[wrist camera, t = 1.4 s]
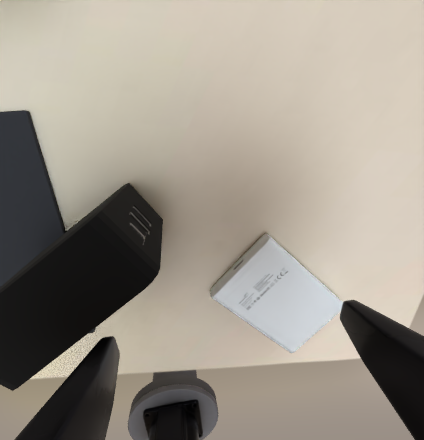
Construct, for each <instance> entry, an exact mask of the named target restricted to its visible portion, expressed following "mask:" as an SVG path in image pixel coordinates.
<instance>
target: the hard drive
mask: <svg viewBox="0 0 424 440" xmlns="http://www.w3.org/2000/svg"><path fill="white" fill-rule="evenodd" d="M210 294H211V297H212V298H213V299H214V300H216V301H217V302H219V303H220V304H221V305H223V306H224V307H226V308H227V309H228V310H230V311H231V312H233V313H234V314H236V315H237V316H238V317H240V318H241V319H243V320H244V321H246V322H247V323H248V324H250V325H251V326H253V327H254V328H256V329H257V330H258V331H260V332H261V333H263V334H264V335H266V336H267V337H268V338H270V339H271V340H273V341H274V342H276V343H277V344H279V345H280V346H282V347H283V348H284V349H286V350H287V351H289V352H290V353H293V352H295V351H296V350H297V349H299V348H300V347H301V346H302V345H303V344H304V343H305V342H306V341H308V340H309V339H310V338H311V337H312V336H313V335H314V334H315V333H317V332H318V331H319V330H320V329H321V328H322V327H323V326H325V325H326V324H327V323H328V322H329V321H330V320H331V319H332V318H333V317H335V316H336V315H337V314H338V313H339V312H340V311H341V309H342V304H343V302H342V301H341V300H340V299H339V298H338V297H337V296H336V295H335V294H334V293H332V292H331V291H330V290H329V289H328V288H327V287H326V286H325V285H324V284H322V283H321V282H320V281H319V280H318V279H317V278H316V277H315V276H314V275H312V274H311V273H310V272H309V271H308V270H307V269H306V268H305V267H304V266H303V265H301V264H300V263H299V262H298V261H297V260H296V259H295V258H294V257H293V256H291V255H290V254H289V253H288V252H287V251H286V250H285V249H284V248H282V247H281V246H280V245H279V244H278V243H277V242H276V241H275V240H274V239H273V238H272V237H271V236H269V235H268V234H267V233H266V234H264V235H263V236H262V237H261V238H259V239H258V240H257V242H256V243H255V244H254V245H253V246H252V247H251V248H250V249H249V250H248V251H247V252H246V253H245V254H244V255H243V256H242V257H241V258H240V259H239V260H238V261H237V262H236V263H235V264H234V265H233V266H232V267H231V268H230V269H229V270H228V271H227V272H226V273H225V274H224V275H223V276H222V277H221V278H220V279H219V280H218V281H217V283H216V284H215V285H214V286H213V287H212V288H211V290H210Z"/></svg>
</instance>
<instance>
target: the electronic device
mask: <svg viewBox="0 0 424 440" xmlns="http://www.w3.org/2000/svg"><path fill="white" fill-rule="evenodd" d="M162 224H163V219H162V218H161V217H160V216H159V215H158V214H157V213H156V212H155V211H154V210H153V209H152V207H151V206H150V205H149V204H148V203H147V202H146V201H145V200H144V199H143V198H142V197H141V195H140V194H139V193H138V192H137V191H136V190H135V189H134V188H133V187H132V186H131V185H130V183H128V184H125V185H124V186H122V187H121V188H120V189H119V190H117V191H116V192H115V193H114V194H112V195H111V196H110V197H109V198H108V199H106V200H105V201H104V202H103V203H101V204H100V205H99V206H98V207H96V208H95V209H94V210H93V211H91V212H90V213H89V214H88V215H87V216H85V217H84V218H83V219H82V220H80V221H79V222H78V223H77V224H75V225H74V226H73V227H72V228H70V229H69V230H68V231H67V232H66V233H64V234H63V235H62V236H61V237H59V238H58V239H57V240H56V241H54V242H53V243H52V244H51V245H49V246H48V247H47V248H46V249H45V250H43V251H42V252H41V253H40V254H38V255H37V256H36V257H35V258H34V259H33V260H31V261H30V262H29V263H28V264H27V265H26V266H24V267H23V268H22V269H21V270H20V271H18V272H17V273H16V274H15V275H14V276H13V277H11V278H10V279H9V280H8V281H7V282H6V283H4V284H3V285H2V286H1V287H0V385H2V386H5V387H6V388H8V389H10V390H15V389H16V388H18V387H19V386H21V385H22V384H23V383H25V382H26V381H27V380H29V379H30V378H31V377H32V376H34V375H35V374H36V373H38V372H39V371H40V370H41V369H43V368H44V367H45V366H47V365H48V364H49V363H50V362H52V361H53V360H54V359H56V358H57V357H58V356H59V355H61V354H62V353H63V352H65V351H66V350H67V349H68V348H70V347H71V346H72V345H74V344H75V343H76V342H77V341H79V340H80V339H81V338H83V337H84V336H85V335H86V334H88V333H89V332H90V331H92V330H93V329H94V328H95V327H97V326H98V325H99V324H100V323H102V322H103V321H104V320H106V319H107V318H108V317H109V316H111V315H112V314H113V313H115V312H116V311H117V310H118V309H120V308H121V307H122V306H124V305H125V304H126V303H127V302H129V301H130V300H131V299H133V298H134V297H135V296H136V295H138V294H139V293H140V292H142V291H143V290H144V289H145V288H146V287H147V286H148V285H149V284H151V283H152V281H153V280H154V279H155V277H156V276H157V275H158V272H159V270H160V262H161V243H162Z"/></svg>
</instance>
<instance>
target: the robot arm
mask: <svg viewBox="0 0 424 440" xmlns="http://www.w3.org/2000/svg"><path fill="white" fill-rule="evenodd" d="M340 319H341V322H342V324H343V326H344V328H345V330H346V332H347V333H348V335H349V337H350V339H351V341H352V343H353V344H354V346H355V348H356V350H357V352H358V354H359V355H360V357H361V359H362V360H363V362H364V364H365V365H366V367H367V368H368V370H369V371H370V373H371V374H372V376H373V377H374V379H375V380H376V382H377V383H378V385H379V386H380V388H381V389H382V391H383V392H384V394H385V395H386V397H387V398H388V400H389V401H390V403H391V404H392V406H393V407H394V409H395V410H396V412H397V413H398V415H399V416H400V418H401V419H402V421H403V422H404V424H405V426H406V427H407V429H408V430H409V431H410V433H411V435H412V436H413V437H414V439H415V440H424V336H422V335H420V334H418V333H417V332H414V331H413V330H411V329H409V328H407V327H405V326H403V325H401V324H399V323H398V322H396V321H394V320H392V319H390V318H388V317H386V316H384V315H382V314H380V313H379V312H377V311H375V310H373V309H371V308H369V307H367V306H365V305H363V304H361V303H360V302H358V301H355V300H349V301H344V302H343V304H342V309H341V314H340ZM119 358H120V353H119V349H118V346H117V343H116V340H115V338H114V337H113V336H110V337H104V338H102V339H101V340H100V341H99V342H98V343H97V344H96V345H95V346H94V348H93V349H92V350H91V351H90V352H89V353H88V355H87V356H86V357H85V358H84V359H83V360H82V362H81V363H80V364H79V365H78V366H77V367H76V369H75V370H74V371H73V372H72V373H71V374H70V376H69V377H68V378H67V379H66V380H65V381H64V383H63V384H62V385H61V386H60V387H59V388H58V390H57V391H56V392H55V393H54V394H53V395H52V397H51V398H50V399H49V400H48V401H47V402H46V404H45V405H44V406H43V407H42V408H41V409H40V410H39V412H38V413H37V414H36V415H35V416H34V418H33V419H32V420H31V421H30V422H29V423H28V424H27V426H26V427H25V428H24V429H23V430H22V431H21V433H20V434H19V435H18V436H17V437H16V439H15V440H105V437H106V432H107V428H108V424H109V420H110V416H111V411H112V407H113V401H114V394H115V387H116V379H117V372H118V365H119ZM143 419H144V423H145V427H146V430H147V434H148V438H149V440H199V438H201V437H202V436H203V429H202V422H201V414H200V407H199V401H198V400H197V399H193V400H188V401H183V402H178V403H173V404H168V405H163V406H158V407H153V408H148V409H145V410H144V411H143Z"/></svg>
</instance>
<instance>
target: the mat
mask: <svg viewBox="0 0 424 440" xmlns="http://www.w3.org/2000/svg"><path fill="white" fill-rule="evenodd" d="M64 233H66V232H65V229H64V225H63V222H62V219H61V216H60V212H59V209H58V206H57V202H56V199H55V196H54V193H53V189H52V186H51V183H50V179H49V176H48V173H47V170H46V166H45V163H44V160H43V156H42V153H41V150H40V147H39V143H38V140H37V137H36V133H35V130H34V127H33V124H32V120H31V117H30V114H29V111H8V112H0V287H1V286H2V285H3V284H4V283H6V282H7V281H8V280H9V279H10V278H11V277H13V276H14V275H15V274H16V273H17V272H18V271H20V270H21V269H22V268H23V267H24V266H26V265H27V264H28V263H29V262H30V261H31V260H33V259H34V258H35V257H36V256H37V255H38V254H40V253H41V252H42V251H43V250H45V249H46V248H47V247H48V246H49V245H51V244H52V243H53V242H54V241H56V240H57V239H58V238H59V237H61V236H62V235H63V234H64ZM94 331H95V328H94V329H93V330H92V331H90V332H89V333H93V332H94Z"/></svg>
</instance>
